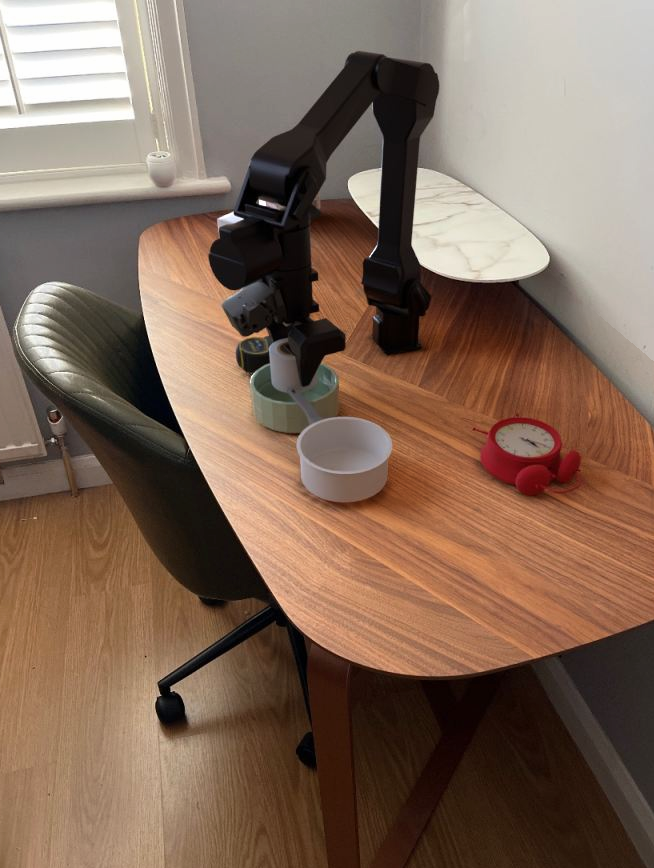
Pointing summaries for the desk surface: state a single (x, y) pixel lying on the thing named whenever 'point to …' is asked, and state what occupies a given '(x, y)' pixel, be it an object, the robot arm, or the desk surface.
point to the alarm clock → (528, 455)
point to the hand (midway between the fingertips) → (294, 374)
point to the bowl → (280, 406)
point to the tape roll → (285, 368)
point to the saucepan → (341, 455)
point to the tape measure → (253, 353)
